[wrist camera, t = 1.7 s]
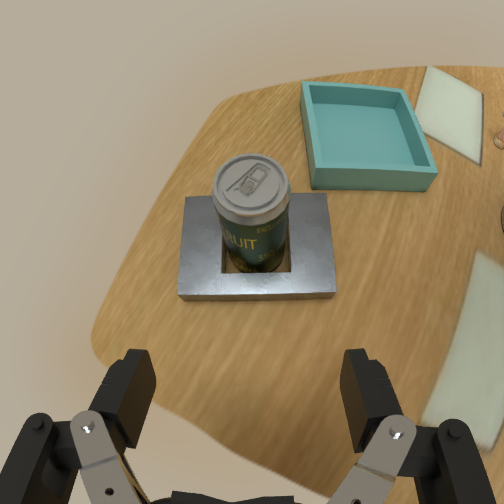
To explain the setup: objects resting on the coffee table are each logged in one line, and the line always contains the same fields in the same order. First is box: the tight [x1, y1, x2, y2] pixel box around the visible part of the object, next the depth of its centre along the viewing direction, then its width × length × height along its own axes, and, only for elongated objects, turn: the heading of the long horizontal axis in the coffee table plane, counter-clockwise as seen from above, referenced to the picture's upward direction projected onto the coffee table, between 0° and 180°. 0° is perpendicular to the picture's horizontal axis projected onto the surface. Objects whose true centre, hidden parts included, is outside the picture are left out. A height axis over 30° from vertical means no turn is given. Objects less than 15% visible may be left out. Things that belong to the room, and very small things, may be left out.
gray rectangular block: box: [177, 193, 337, 301], centre depth 31 cm, size 14×10×2 cm
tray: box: [300, 81, 438, 192], centre depth 35 cm, size 14×14×4 cm
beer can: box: [212, 153, 291, 273], centre depth 26 cm, size 5×5×12 cm
